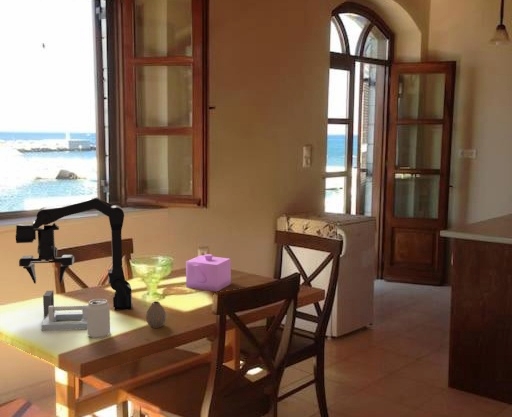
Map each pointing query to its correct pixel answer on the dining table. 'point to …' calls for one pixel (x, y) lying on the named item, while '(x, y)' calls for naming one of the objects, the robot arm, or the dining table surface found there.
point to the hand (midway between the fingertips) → (48, 283)
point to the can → (98, 318)
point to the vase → (156, 315)
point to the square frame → (65, 318)
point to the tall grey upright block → (48, 301)
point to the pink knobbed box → (208, 272)
